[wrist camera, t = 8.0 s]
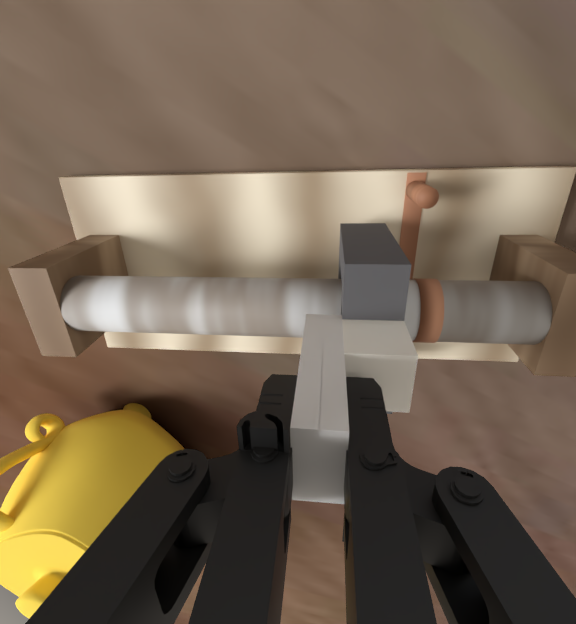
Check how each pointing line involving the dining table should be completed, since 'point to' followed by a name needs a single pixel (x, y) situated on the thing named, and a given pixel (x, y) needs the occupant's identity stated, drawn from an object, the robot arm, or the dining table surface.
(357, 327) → the grey sliding frame
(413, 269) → the pipe rig
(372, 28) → the dining table surface
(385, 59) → the dining table surface
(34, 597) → the teapot
